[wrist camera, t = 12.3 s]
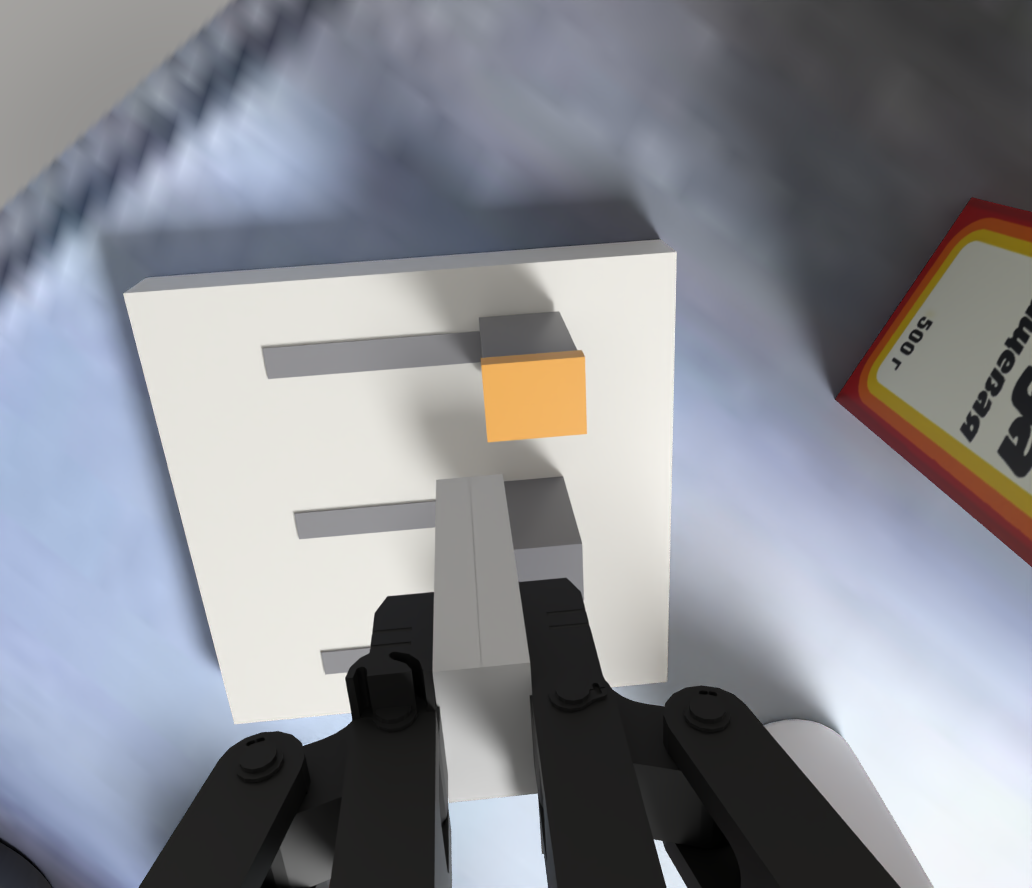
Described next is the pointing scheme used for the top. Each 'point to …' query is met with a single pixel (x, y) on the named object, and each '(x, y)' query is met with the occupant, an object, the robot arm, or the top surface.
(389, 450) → the white slider panel
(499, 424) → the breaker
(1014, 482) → the baking soda box
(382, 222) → the top surface
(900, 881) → the milk bottle
